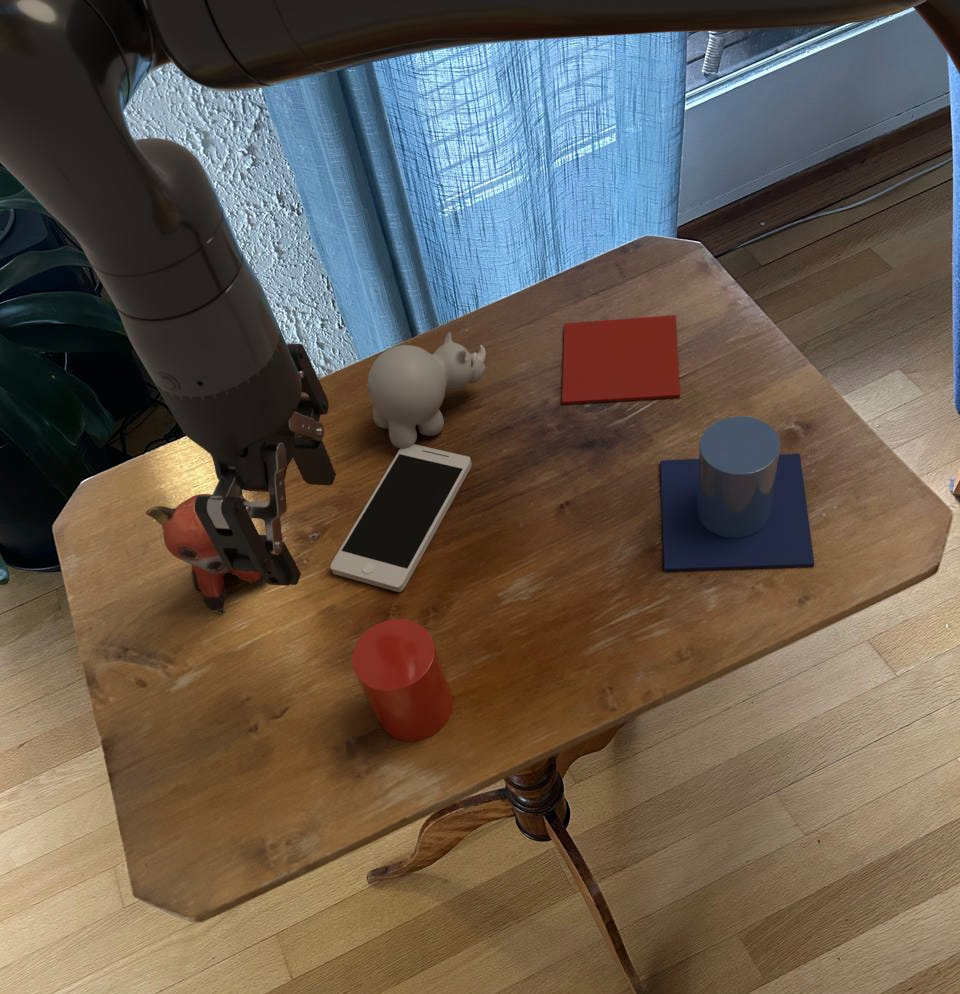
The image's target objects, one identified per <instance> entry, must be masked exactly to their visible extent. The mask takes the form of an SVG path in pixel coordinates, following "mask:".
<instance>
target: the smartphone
mask: <svg viewBox="0 0 960 994" xmlns="http://www.w3.org/2000/svg"><path fill="white" fill-rule="evenodd" d="M472 466H473V464H472V460H471V457H470V456H468V455H464V454H459V453H455V452H450V451H445V450H442V449H436V448H432V447H428V446H424V445H420V444H415V443H414V444H413V445H412V446H410V447H407V448H399V450H398V451H397V452H396V455H395V457H393V460H392V461H391V463H390V464H389V466H388V468H387V470H386V471H385V473H384V474H383V476H382V477H381V480H380V481H379V483H378V485H377V486H376V488H375V490H374V491H373V493H372V494H371V496H370V498H369V500H368V501H367V502H366V504H365V506H364V508H363V509H362V511H361V513H360V514H359V516H358V518H357V520H356V521H355V523H354V525H353V526H352V528H351V529H350V531H349V533H348V534H347V536H346V538H345V540H344V541H343V542H342V544H341V546H340V548H339V549H338V551H337V553H336V555H335V556H334V557H333V559H332V561H331V563H330V565H329V566H330V567H329V568H330V570H331V572H332V574H333V575H335V576H336V575H337V576H340V577H342V578H347V579H351V580H353V581H358V582H360V583H364V584H368V585H372V586H375V587H379V588H382V589H384V590H389V591H393V592H396V593H401V592H402V591H403V590H405V588H406V587H407V585H408V583H409V581H410V579H411V577H412V575H414V572H415V570H416V569H417V566H418V564H419V563H420V561H421V559H422V557H423V556H424V554H425V552H426V550H427V548H428V546H429V545H430V544H431V541H432V540H433V537H434V535H435V534H436V533H437V530H438V528H439V526H440V525H441V523H442V522H443V519H444V517H445V515H446V514H447V512H448V510H449V509H450V507H451V505H452V503H453V502H454V500H455V498H456V496H457V494H458V493H459V490H460V488H461V487H462V485H463V483H464V481H465V479H466V478H467V476H468V474H469V472H470V470H471V468H472Z"/></svg>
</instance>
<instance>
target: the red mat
mask: <svg viewBox="0 0 960 994" xmlns="http://www.w3.org/2000/svg"><path fill="white" fill-rule="evenodd" d="M677 329H678V328H677V315H676V314H673V315H659V316H646V317H645V316H643V317H630V318H620V319H619V318H617V319H604V320H603V319H602V320H591V321H577V322H576V321H575V322H565V323H564V329H563V358H562V360H563V361H562V387H561V388H562V389H561V405H564V406H565V405H581V404H596V403H610V402H611V403H614V402H630V401H647V400H663V399H664V400H665V399H679V398H681V388H680V369H679V351H678V349H679V347H678V334H677V333H678V331H677Z"/></svg>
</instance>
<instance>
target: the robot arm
mask: <svg viewBox="0 0 960 994" xmlns="http://www.w3.org/2000/svg"><path fill="white" fill-rule="evenodd" d="M912 8H913V9H914V10H915V11H916V13H917V14H918V15H919V16H920V17H921V19H922V20H923V21H924V23H926V25H927V26H928V27H929V29H930V30H931V31H932V32H933V34H934V35H935V37H936V38H937V39H938V41H939V42H940V44H941V45H942V47H943V49H945V51H946V52H947V54H948V56H949V58H950V60H951V61H952V64H953V65H954V66H955V68H956V70H957V72H958V74H959V75H960V0H0V164H1V166H3V167H4V168H5V169H6V170H7V171H8V172H9V173H10V174H11V175H12V176H13V177H14V178H15V179H16V180H17V181H18V182H19V183H20V184H21V185H22V186H23V187H24V189H26V190H27V191H28V192H29V193H30V194H31V195H32V196H33V197H34V198H35V200H36V201H38V202H39V204H40V205H41V206H42V207H43V208H44V209H45V210H46V211H47V212H48V213H49V214H50V215H51V216H52V217H53V218H55V220H56V221H58V222H59V223H60V224H61V225H62V226H63V227H64V228H65V229H66V230H67V231H68V232H69V233H70V234H71V235H72V237H74V238H75V239H76V240H77V242H78V243H79V245H80V247H81V249H82V251H83V252H84V255H85V257H86V259H87V260H88V262H89V264H90V266H91V267H92V269H93V270H94V273H95V275H96V276H97V277H98V279H99V281H100V283H101V284H102V286H103V288H104V289H105V292H106V293H107V295H108V296H109V299H110V300H111V302H112V304H113V305H114V307H115V309H116V311H117V313H118V315H119V317H120V320H121V322H122V325H123V328H124V331H125V333H126V335H127V338H128V340H129V342H130V344H131V346H132V348H133V350H134V351H135V353H136V354H137V356H138V358H139V360H140V361H141V363H142V365H143V366H144V368H145V370H146V371H147V373H148V375H149V377H150V378H151V380H152V382H153V384H154V385H155V387H156V388H157V390H158V393H159V394H160V396H161V397H162V399H163V401H164V402H165V404H166V406H167V408H168V409H169V410H170V411H169V412H170V413H171V414H172V416H173V418H174V420H175V421H176V422H177V425H178V426H179V428H180V430H181V431H182V432H183V434H184V435H185V436H186V437H187V438H188V439H189V440H191V441H192V442H193V443H195V444H196V445H198V446H199V447H200V448H202V449H203V450H204V451H205V452H207V453H208V454H209V455H210V456H211V459H212V462H213V466H214V471H215V475H216V478H217V480H218V482H217V484H216V486H215V488H214V491H213V492H212V494H211V495H212V496H198V497H197V498H196V501H195V512H196V514H197V516H198V518H199V519H200V521H201V523H202V525H203V527H204V528H205V530H206V532H207V534H208V536H209V538H210V539H211V541H212V543H213V545H214V547H215V548H216V550H217V552H218V554H219V556H220V557H221V559H222V561H223V563H224V565H225V566H226V568H227V569H228V570H235V571H251V572H260V573H261V576H262V577H263V579H264V581H263V582H265V584H267V585H271V586H284V587H290V586H296V585H298V584H299V581H300V578H301V575H302V573H301V570H300V569H299V567H298V565H297V563H296V562H295V560H294V557H293V556H292V554H291V552H290V551H289V548H288V547H287V544H286V542H284V541H283V534H282V533H283V532H282V523H281V522H282V521H281V519H282V516H284V515H285V514H286V513H287V511H288V505H287V493H286V483H285V479H286V475H287V470H288V467H289V465H290V463H292V460H294V463H295V464H296V467H297V469H298V471H299V474H300V475H301V477H302V480H303V482H305V483H306V484H308V485H310V486H312V485H313V486H332V485H334V482H335V479H336V476H337V473H336V471H335V469H334V466H333V464H332V461H331V458H330V456H329V452H328V450H327V449H326V446H325V443H324V441H323V440H324V436H325V428H324V425H323V423H322V422H321V421H320V420H321V415H323V416H324V415H327V414H328V411H329V406H330V405H329V399H328V397H327V395H326V392H325V391H324V388H323V386H322V384H321V381H320V379H319V377H318V375H317V372H316V371H315V368H314V367H313V366H314V365H313V364H312V362H311V360H310V357H309V354H308V353H307V350H306V348H305V346H304V345H303V344H302V343H290V342H289V343H287V342H286V340H285V338H284V334H283V332H282V330H281V328H280V325H279V323H278V321H277V319H276V316H275V313H274V312H273V309H272V306H271V304H270V302H269V300H268V297H267V294H266V293H265V290H264V288H263V286H262V283H261V281H260V280H259V277H258V276H257V275H256V272H255V271H254V270H253V268H252V266H251V265H250V263H249V261H248V260H247V258H246V256H245V255H244V253H243V250H242V248H241V247H240V244H239V242H238V239H237V237H236V235H235V232H234V230H233V228H232V226H231V224H230V221H229V219H228V217H227V214H226V212H225V209H224V206H223V204H222V203H221V200H220V198H219V195H218V193H217V190H216V188H215V186H214V183H213V182H212V180H211V178H210V176H209V174H208V173H207V171H206V170H205V169H206V168H204V166H203V164H202V163H201V161H200V160H199V158H197V156H196V155H194V153H192V152H191V151H190V150H189V149H188V148H187V147H185V146H184V145H182V144H179V143H178V142H176V141H173V140H170V139H167V138H166V139H165V138H159V137H157V138H156V137H145V138H138V139H134V137H133V135H132V133H131V130H130V129H129V125H128V122H127V120H126V116H125V112H124V111H125V110H126V109H127V107H128V106H129V104H130V103H131V101H132V99H133V98H134V96H135V95H136V93H137V91H138V90H139V88H140V87H141V85H142V83H143V82H144V81H145V79H146V78H147V76H148V75H149V74H151V73H152V72H154V71H157V70H158V69H161V68H163V67H164V66H167V65H170V64H173V65H174V66H175V67H176V68H177V69H178V70H179V71H180V72H181V73H182V74H183V75H184V76H186V77H187V78H188V79H190V81H193V82H194V83H195V84H197V85H199V86H201V87H204V88H206V89H209V90H213V91H217V92H226V93H228V92H229V93H235V92H236V93H237V92H245V91H246V92H247V91H253V90H259V89H264V88H267V87H273V86H277V85H282V84H287V83H291V82H296V81H300V80H305V79H309V78H313V77H318V76H322V75H323V76H324V75H327V74H331V73H334V72H335V73H336V72H340V71H343V70H348V69H352V68H356V67H359V66H364V65H369V64H372V63H377V62H381V61H386V60H390V59H397V58H400V57H406V56H410V55H416V54H417V55H418V54H422V53H423V54H424V53H429V52H435V51H441V50H449V49H455V48H457V49H458V48H463V47H473V46H474V47H475V46H479V45H481V46H482V45H490V44H492V45H493V44H501V43H502V44H503V43H511V42H512V43H513V42H524V41H525V42H526V41H527V42H528V41H540V40H557V39H574V38H592V37H610V36H611V37H612V36H630V35H646V34H647V35H648V34H663V33H664V34H665V33H690V32H691V33H692V32H693V33H695V32H728V31H729V32H730V31H765V30H769V31H770V30H790V29H804V28H805V29H806V28H820V27H829V26H830V27H831V26H841V25H846V24H855V23H861V22H868V21H872V20H877V19H880V18H884V17H888V16H892V15H896V14H899V13H901V12H904V11H907V10H909V9H912ZM302 394H306V395H307V396H306V395H305V396H303V395H302ZM243 491H248V492H261V493H268V498H269V501H268V502H267V501H265V502H263V501H249V500H247V499H246V498H245V497H244V494H243ZM253 519H258V520H259V519H260V520H262V521H263V523H264V528H265V534H259V531H258V530H257V528H256V526H255V523H254V522H253ZM237 548H238V549H237Z"/></svg>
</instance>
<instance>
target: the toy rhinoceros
mask: <svg viewBox="0 0 960 994" xmlns="http://www.w3.org/2000/svg"><path fill="white" fill-rule="evenodd" d="M486 355H487V353H486V349H485V347H484V345H482V344H480V347H479V351H478V352H473V353H470V352H469V351H468V349H467V348H466V347H465V346H464V345H462V344H460V343H457V342H454V341H453V338H452V332H451V331H448V332H447V333H446V335H445V337H444V341H443V343H442V345H440V346H439V347H438V348H437V349H436V350H435V351H434V352H433V353H432V354H431V353H430V352H428V350H426V349H424V348H422V347H419V346H417V345H411V344H401V345H396V346H393V347H390V348H388V349H387V350H385V351H384V352H382V353H381V354H380V355H378V357H377V358H376V359H375V360H374V362H373V364H372V365H371V367H370V370H369V373H368V377H367V383H366V384H367V385H366V390H367V392H368V397H369V400H370V402H371V405H372V406H373V409H372V418H373V422H374V424H375V425H376V426H377V427H379V428H381V429H385V430H388V436H389V441H390V443H391V444H392V445H393V446H394V447H395V448H397V449H400V448H407V447H410V446H412V445H413V444H415V443H416V442H417V439H418V434H417V432H419V433H420V434H421V435H423V436H427V437H433V436H437V435H439V434H440V433H441V432H442V431H443V430H444V426H445V420H444V417H443V413H442V412H441V410H440V408H441V406H442V405H443V401H444V400H445V399H444V398H445V395H446V389H447V390H459V389H462V388H463V387H465V386H467V384H475V383H478V382H479V381H481V379H483V377H484V374H485V372H486V366H485V360H486V357H487V356H486ZM416 428H417V429H416ZM417 430H418V431H417Z"/></svg>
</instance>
